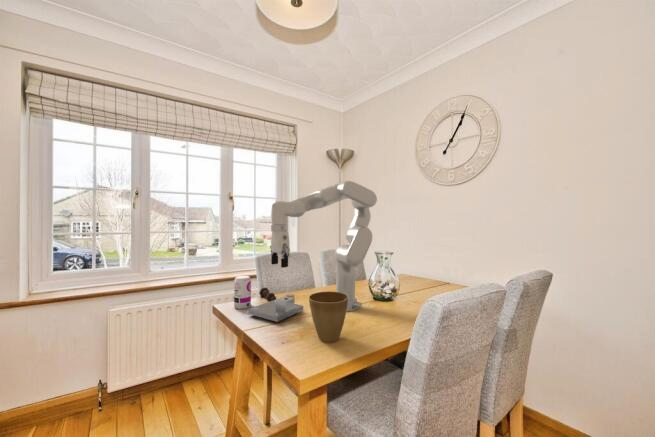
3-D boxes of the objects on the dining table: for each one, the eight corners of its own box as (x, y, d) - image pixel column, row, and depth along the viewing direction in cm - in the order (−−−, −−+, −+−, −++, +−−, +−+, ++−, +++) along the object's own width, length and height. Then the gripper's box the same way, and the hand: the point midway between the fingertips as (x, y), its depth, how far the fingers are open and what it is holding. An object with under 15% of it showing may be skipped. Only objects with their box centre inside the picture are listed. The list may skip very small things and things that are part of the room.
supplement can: (253, 304, 147) (253, 275, 146) (247, 309, 138) (247, 279, 138) (238, 303, 147) (238, 275, 147) (231, 309, 139) (231, 278, 139)
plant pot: (333, 327, 117) (333, 289, 117) (355, 341, 104) (356, 298, 104) (301, 335, 109) (301, 294, 109) (321, 351, 96) (321, 304, 96)
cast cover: (294, 309, 130) (294, 298, 130) (285, 312, 125) (285, 301, 125) (284, 306, 133) (284, 295, 133) (275, 310, 128) (275, 299, 128)
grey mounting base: (306, 310, 137) (306, 296, 137) (277, 324, 119) (277, 308, 119) (278, 304, 146) (278, 291, 146) (247, 315, 129) (248, 301, 129)
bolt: (272, 306, 149) (262, 298, 162) (280, 300, 151) (269, 293, 164) (267, 298, 147) (257, 290, 160) (275, 292, 149) (265, 285, 162)
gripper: (296, 228, 124) (296, 267, 125) (278, 227, 138) (278, 262, 138) (280, 229, 120) (281, 269, 120) (263, 227, 134) (264, 263, 134)
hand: (279, 265), depth 129 cm, fingers open, 9 cm apart
